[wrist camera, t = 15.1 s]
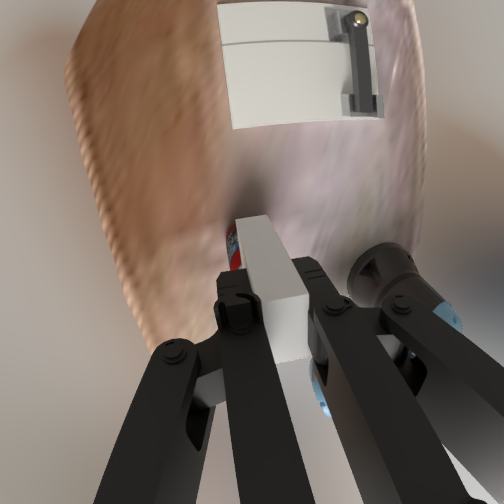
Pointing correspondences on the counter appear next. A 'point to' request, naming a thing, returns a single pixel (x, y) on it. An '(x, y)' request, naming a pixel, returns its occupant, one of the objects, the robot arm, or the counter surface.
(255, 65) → the door board
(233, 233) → the beverage can
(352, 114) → the keeper
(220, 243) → the counter surface
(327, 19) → the grey latch pivot mount
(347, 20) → the latch bar
